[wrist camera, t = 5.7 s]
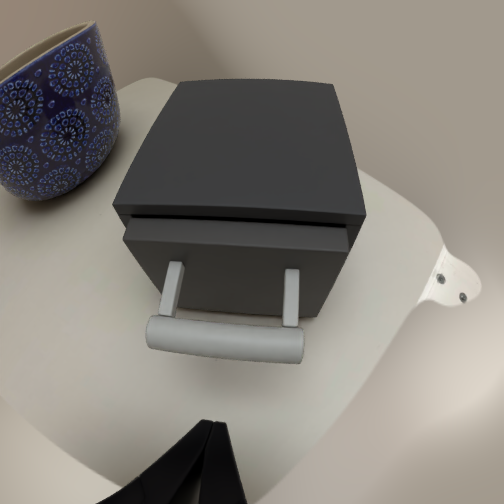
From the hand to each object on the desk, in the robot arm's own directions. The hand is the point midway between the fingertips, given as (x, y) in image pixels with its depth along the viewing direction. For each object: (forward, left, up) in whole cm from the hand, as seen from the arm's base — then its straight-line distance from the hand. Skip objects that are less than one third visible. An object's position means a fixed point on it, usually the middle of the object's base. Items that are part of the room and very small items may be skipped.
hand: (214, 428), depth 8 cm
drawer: (+10, 0, -7) cm, 12 cm away
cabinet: (+13, 0, -8) cm, 16 cm away
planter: (+22, +22, -8) cm, 32 cm away
